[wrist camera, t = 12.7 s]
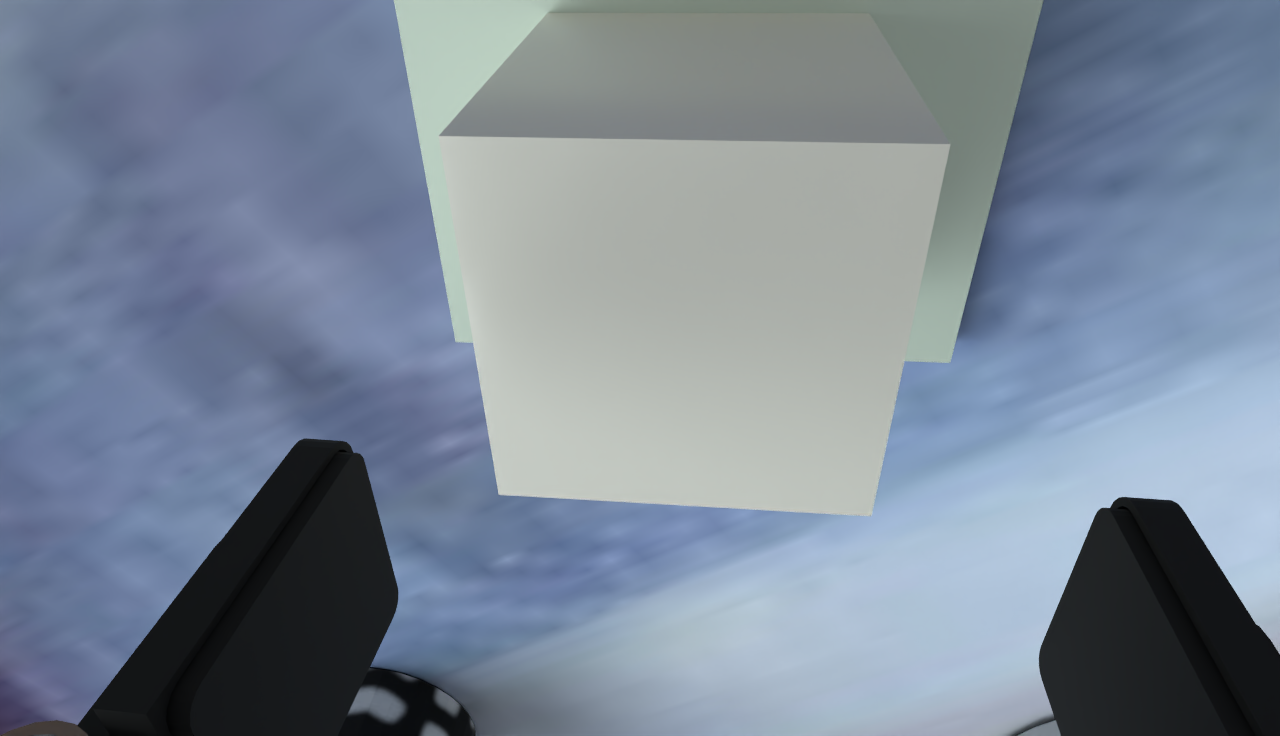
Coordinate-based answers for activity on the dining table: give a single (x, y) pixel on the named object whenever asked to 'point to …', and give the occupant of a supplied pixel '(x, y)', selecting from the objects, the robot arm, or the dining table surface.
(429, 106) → the sage board
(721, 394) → the cream block
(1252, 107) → the dining table surface
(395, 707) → the spotted tube
